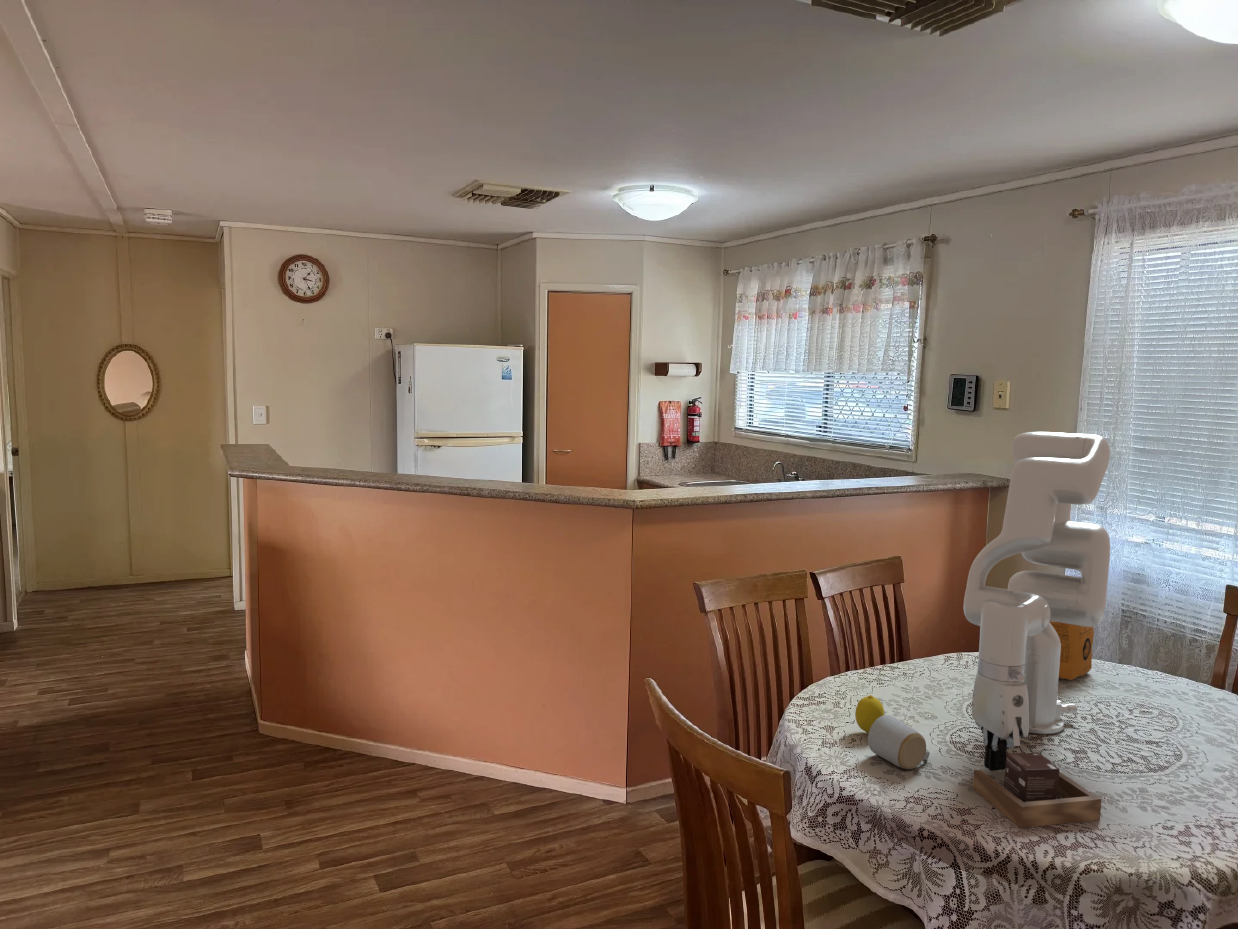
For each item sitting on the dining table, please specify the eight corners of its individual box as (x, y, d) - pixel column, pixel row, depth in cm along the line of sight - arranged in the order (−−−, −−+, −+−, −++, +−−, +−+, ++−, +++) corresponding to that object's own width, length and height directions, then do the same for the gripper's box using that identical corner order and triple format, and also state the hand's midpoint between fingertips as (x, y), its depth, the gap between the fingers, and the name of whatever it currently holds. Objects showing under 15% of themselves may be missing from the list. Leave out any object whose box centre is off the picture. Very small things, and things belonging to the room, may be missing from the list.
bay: (1046, 783, 146) (1047, 764, 146) (1099, 819, 134) (1101, 799, 134) (972, 789, 143) (973, 770, 143) (1020, 828, 131) (1022, 806, 131)
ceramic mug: (899, 776, 148) (902, 734, 147) (865, 757, 155) (868, 717, 154) (940, 764, 153) (943, 724, 152) (906, 747, 160) (908, 708, 159)
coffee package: (1098, 675, 200) (1105, 586, 198) (1071, 685, 194) (1078, 593, 191) (1057, 663, 209) (1063, 577, 206) (1030, 672, 202) (1036, 583, 199)
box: (1002, 793, 142) (1005, 752, 141) (1035, 792, 143) (1038, 751, 142) (1022, 812, 136) (1025, 769, 135) (1057, 811, 137) (1060, 768, 136)
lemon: (885, 741, 162) (887, 702, 161) (855, 738, 163) (857, 699, 162) (882, 730, 167) (883, 691, 166) (853, 727, 168) (855, 689, 168)
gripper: (1049, 683, 141) (1042, 786, 143) (992, 654, 155) (986, 748, 157) (1010, 686, 139) (1003, 791, 141) (956, 656, 154) (951, 751, 156)
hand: (994, 768), depth 149 cm, fingers closed
